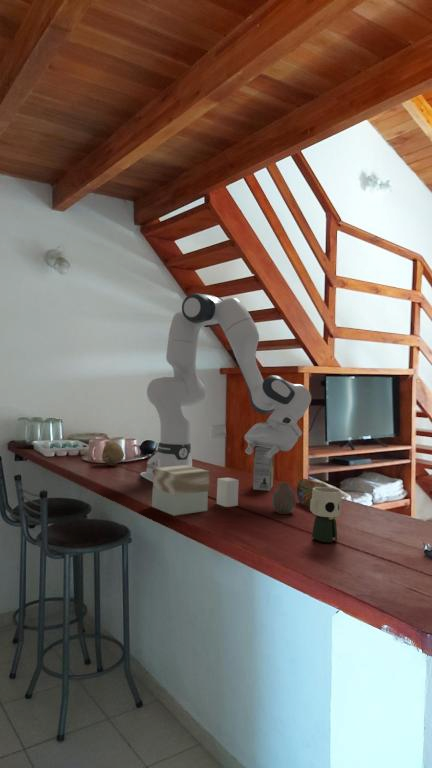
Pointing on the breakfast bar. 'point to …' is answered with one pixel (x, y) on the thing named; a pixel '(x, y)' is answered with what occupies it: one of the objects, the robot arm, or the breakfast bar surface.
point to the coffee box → (262, 469)
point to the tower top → (181, 479)
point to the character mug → (325, 512)
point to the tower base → (179, 502)
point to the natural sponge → (112, 453)
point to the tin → (307, 490)
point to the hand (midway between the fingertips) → (256, 455)
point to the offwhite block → (227, 492)
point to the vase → (283, 499)
